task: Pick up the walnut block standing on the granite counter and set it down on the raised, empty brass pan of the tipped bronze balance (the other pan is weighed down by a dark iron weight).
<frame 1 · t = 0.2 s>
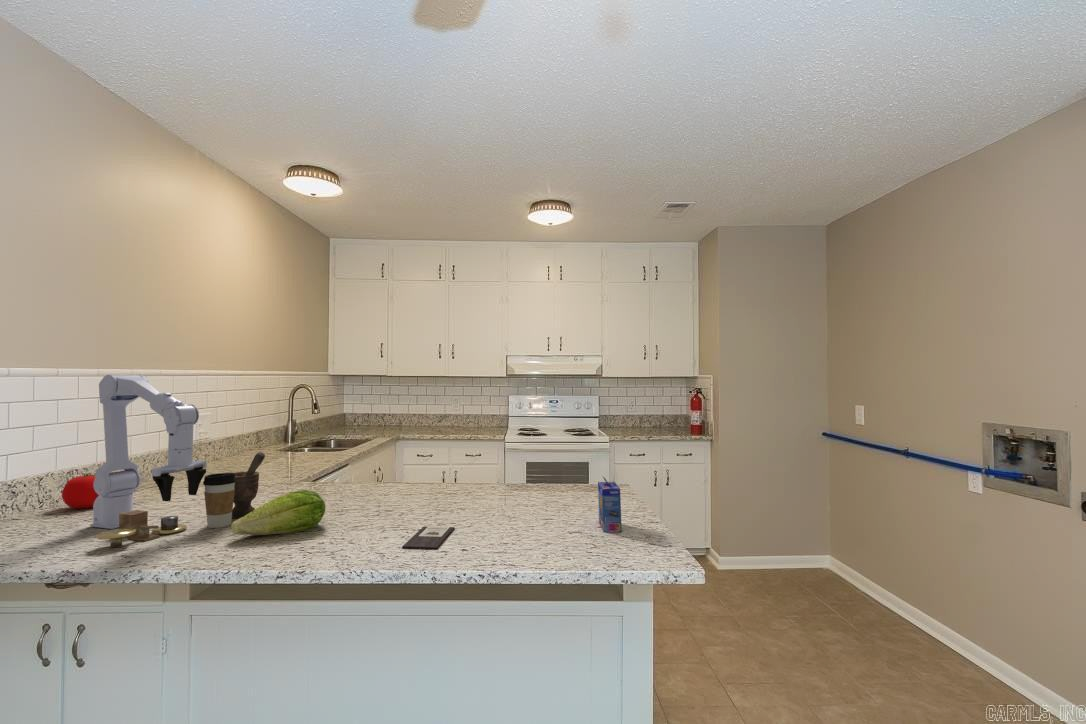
hand: (179, 497, 149), 10 cm above the countertop, fingers open, 7 cm apart
coffee cup: (219, 525, 157), on the countertop
balance: (144, 538, 144), on the countertop
mortar and pestle: (248, 516, 167), on the countertop
ink cartridge box: (609, 528, 154), on the countertop
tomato: (87, 507, 178), on the countertop
chocolate bar: (429, 540, 144), on the countertop
lettuce: (279, 533, 150), on the countertop
walnut block: (133, 534, 148), on the countertop
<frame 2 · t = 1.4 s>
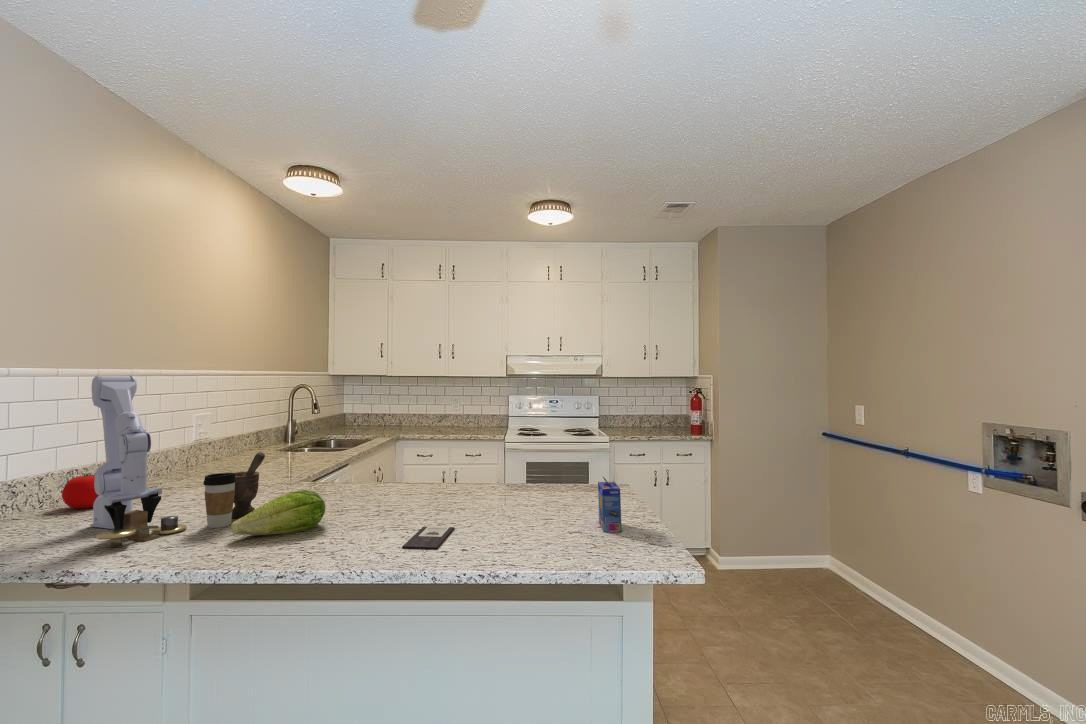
hand: (133, 525, 148), 2 cm above the countertop, fingers open, 7 cm apart
nothing on the countertop moved.
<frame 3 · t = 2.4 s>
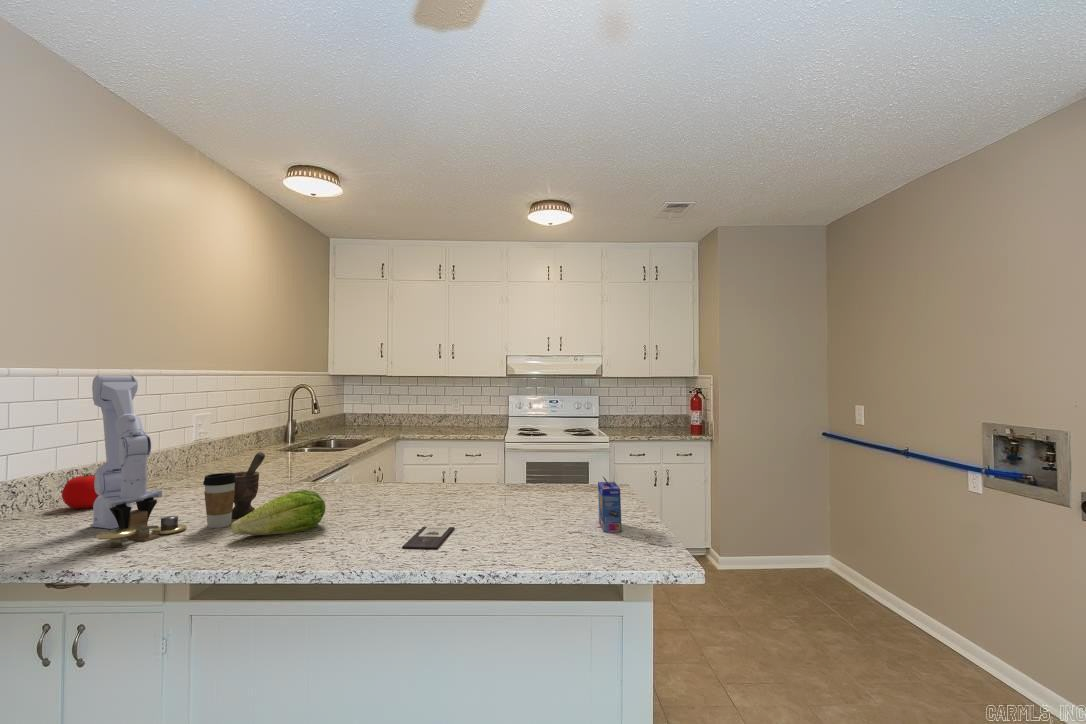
hand: (133, 528, 148), 1 cm above the countertop, fingers closed on walnut block, 4 cm apart
walnut block: (133, 534, 148), on the countertop, touching gripper
everything else where it was.
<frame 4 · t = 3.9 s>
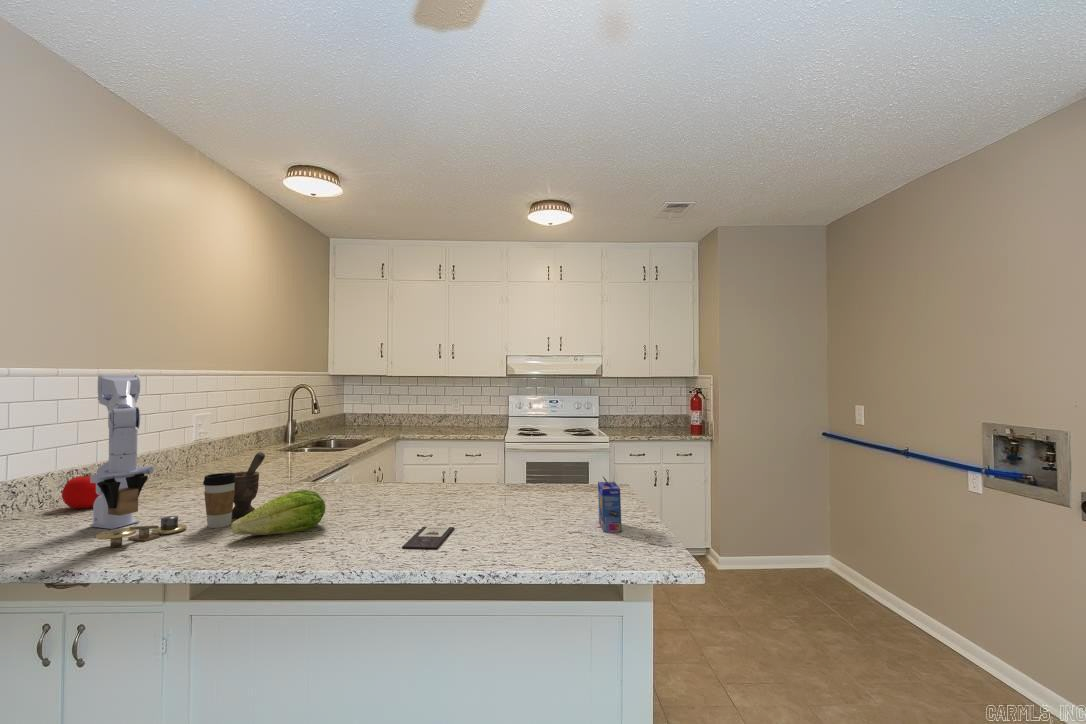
hand: (122, 505, 141), 10 cm above the countertop, fingers closed on walnut block, 4 cm apart
walnut block: (123, 512, 141), point 8 cm above the countertop, touching gripper
everything else where it was.
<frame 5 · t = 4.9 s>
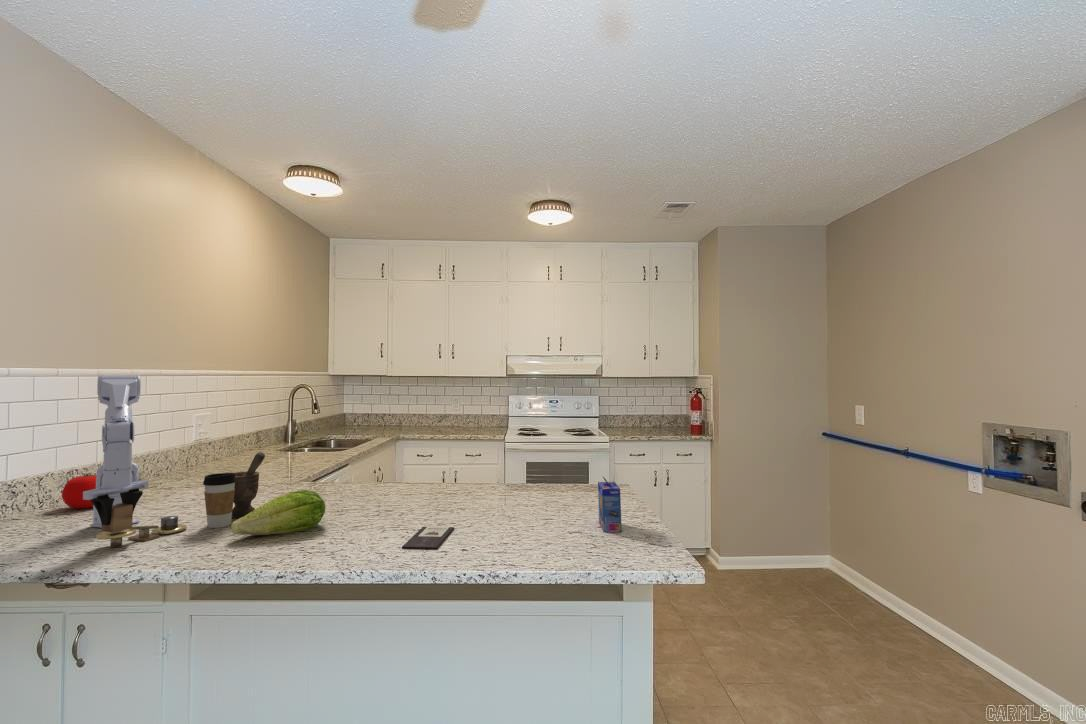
hand: (116, 522, 137), 6 cm above the countertop, fingers closed on walnut block, 4 cm apart
walnut block: (117, 529, 137), point 4 cm above the countertop, touching gripper
everything else where it was.
when the fingers open (6 cm above the countertop, at t = 5.6 s): walnut block stays where it is, resting on balance.
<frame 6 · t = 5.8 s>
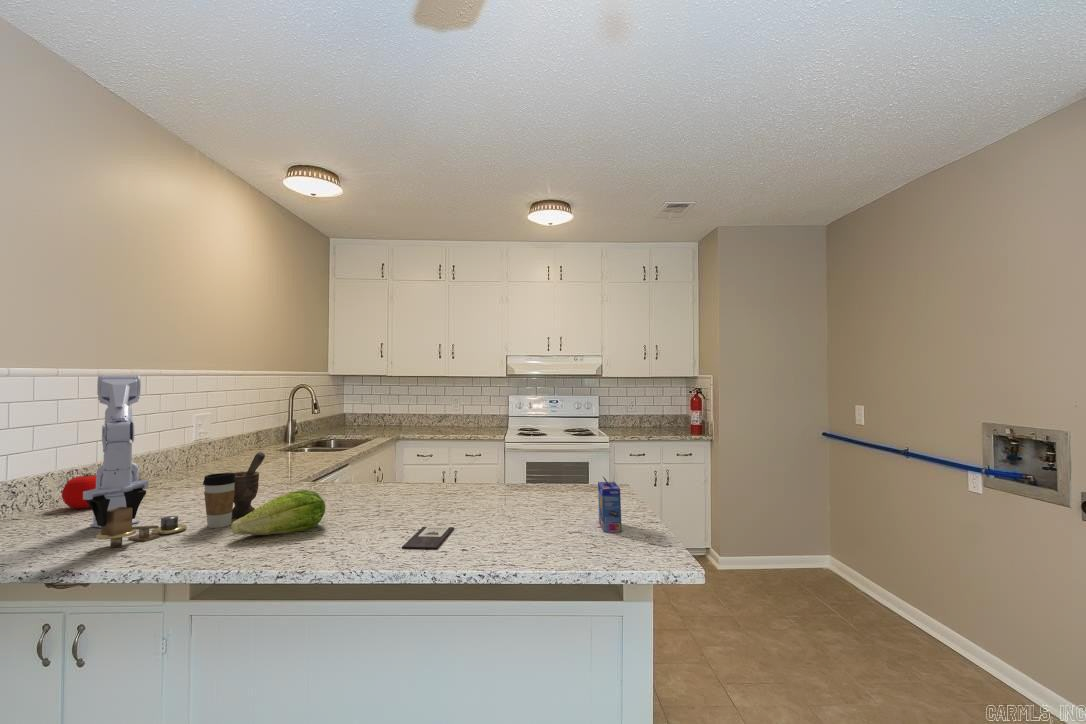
hand: (116, 522, 137), 6 cm above the countertop, fingers open, 6 cm apart
walnut block: (116, 532, 137), point 3 cm above the countertop, touching balance
everything else where it was.
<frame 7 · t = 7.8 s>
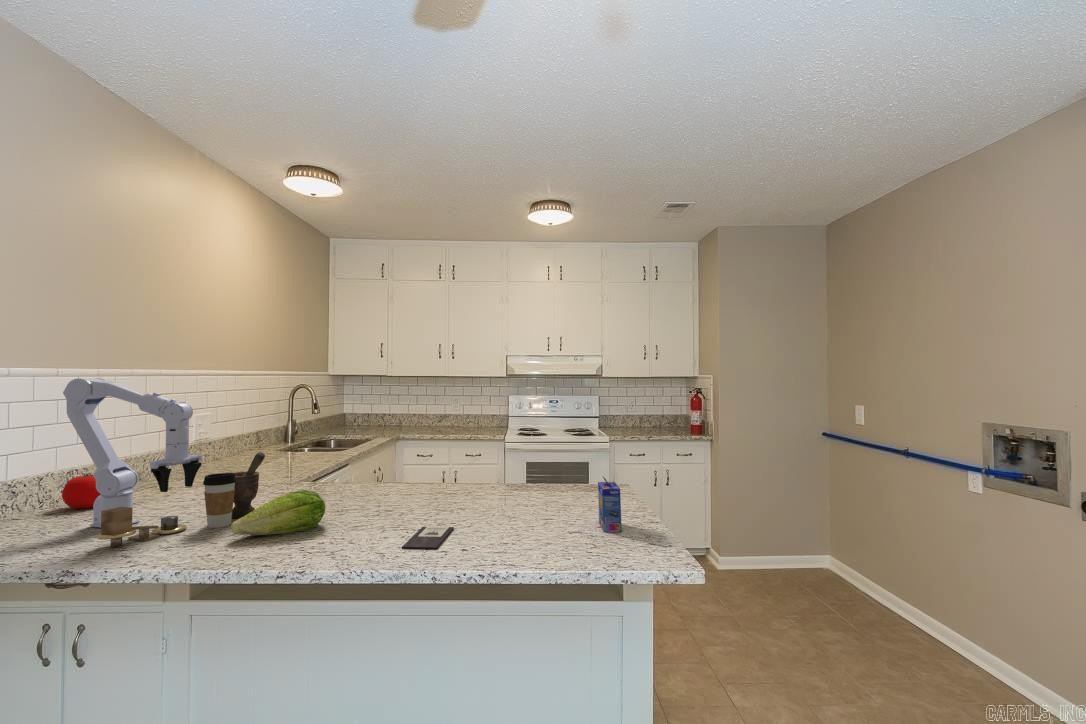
hand: (176, 489, 160), 10 cm above the countertop, fingers open, 7 cm apart
nothing on the countertop moved.
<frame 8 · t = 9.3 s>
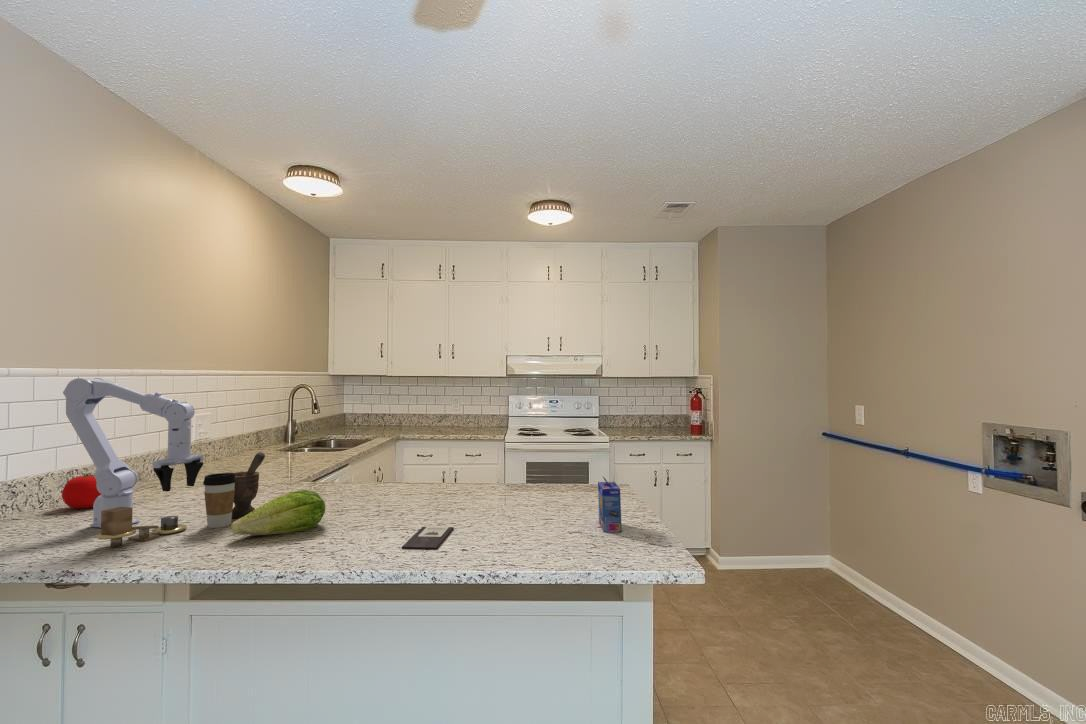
hand: (178, 488, 161), 10 cm above the countertop, fingers open, 7 cm apart
nothing on the countertop moved.
at the end: walnut block 0.1 cm from the target spot on the balance, point 3.5 cm above the balance's base; walnut block tilted 0°; the gripper is holding nothing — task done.
